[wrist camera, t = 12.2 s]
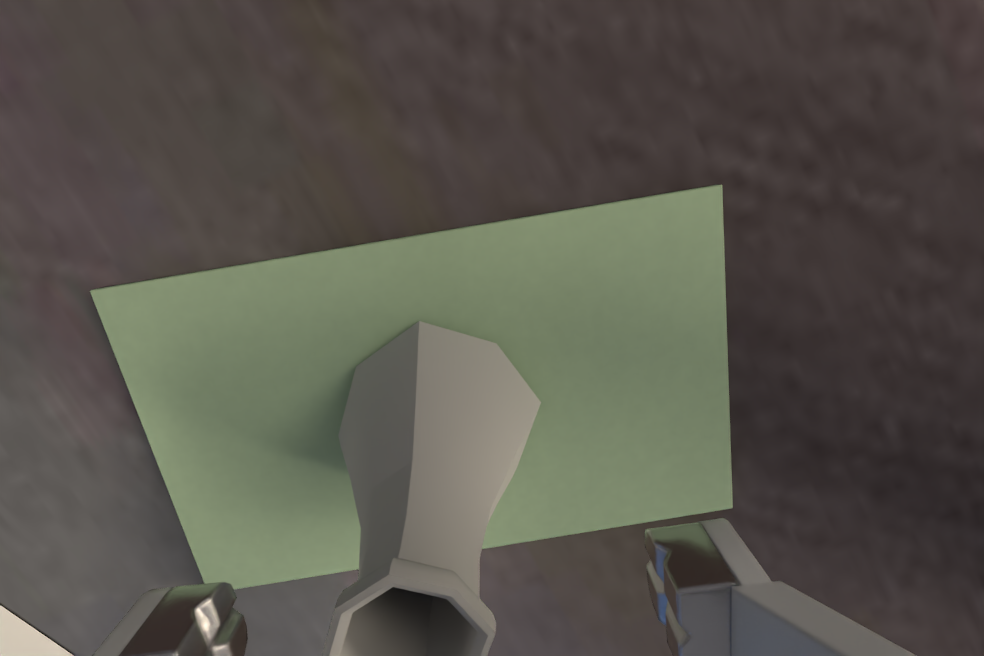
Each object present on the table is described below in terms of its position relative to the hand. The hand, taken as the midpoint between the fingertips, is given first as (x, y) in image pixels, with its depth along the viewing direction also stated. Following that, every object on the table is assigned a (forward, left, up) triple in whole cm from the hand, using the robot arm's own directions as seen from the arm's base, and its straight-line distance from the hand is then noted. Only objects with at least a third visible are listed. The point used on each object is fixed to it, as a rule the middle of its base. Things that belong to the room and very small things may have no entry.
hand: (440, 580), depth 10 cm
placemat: (+1, +1, -10) cm, 10 cm away
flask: (+1, +1, -10) cm, 10 cm away
